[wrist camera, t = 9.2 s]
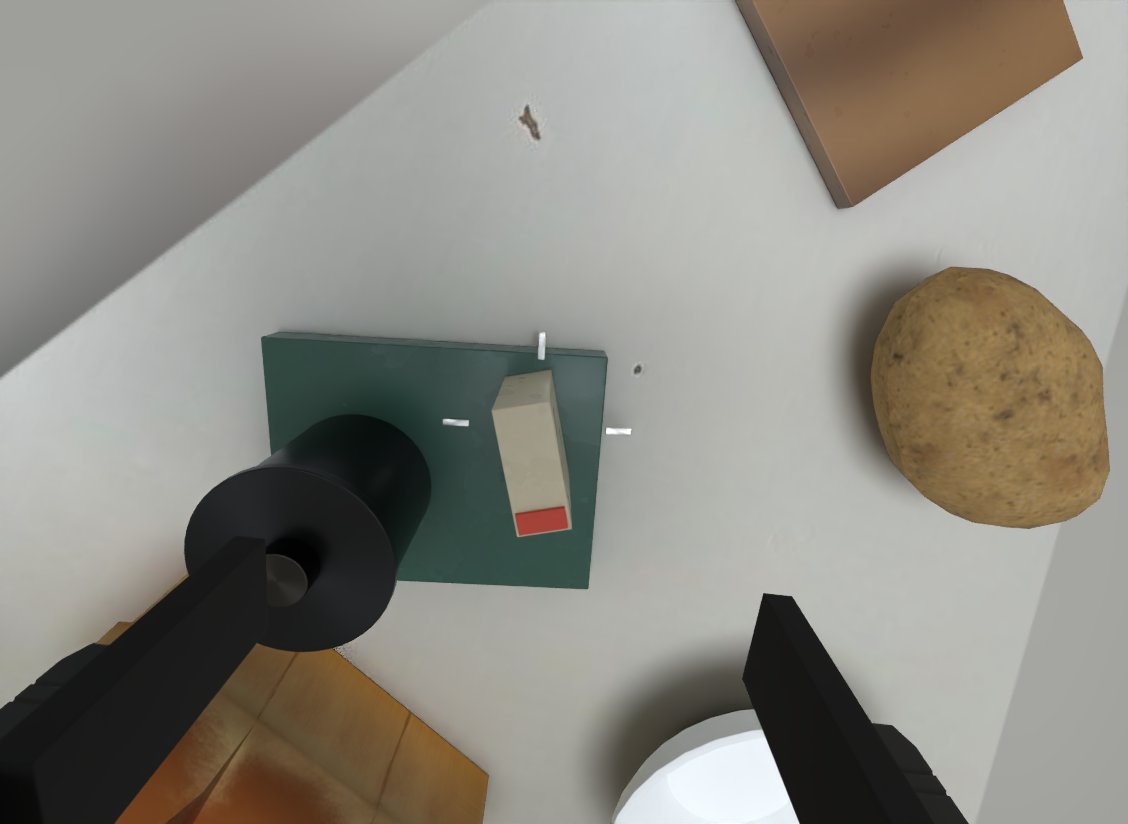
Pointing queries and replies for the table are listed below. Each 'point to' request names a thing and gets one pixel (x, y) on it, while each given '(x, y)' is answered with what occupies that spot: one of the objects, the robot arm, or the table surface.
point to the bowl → (709, 778)
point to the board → (902, 75)
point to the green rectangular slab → (453, 441)
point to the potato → (991, 400)
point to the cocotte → (322, 527)
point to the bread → (307, 753)
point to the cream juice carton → (533, 453)
